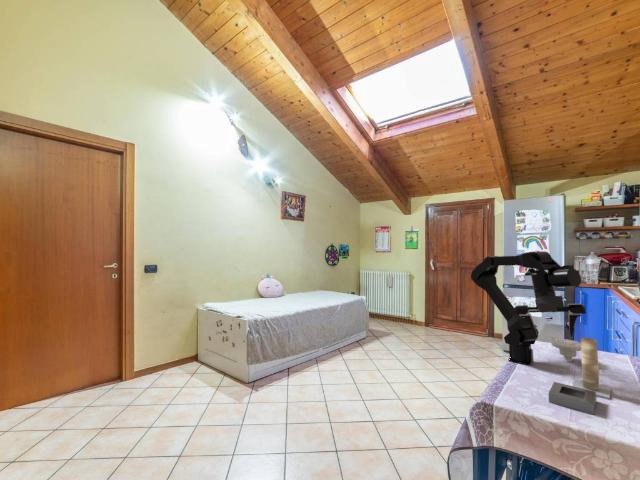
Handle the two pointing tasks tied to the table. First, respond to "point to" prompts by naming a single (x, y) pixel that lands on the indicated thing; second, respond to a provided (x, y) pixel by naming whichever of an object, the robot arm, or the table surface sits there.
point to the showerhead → (566, 347)
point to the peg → (590, 364)
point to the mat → (603, 391)
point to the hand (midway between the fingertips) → (553, 336)
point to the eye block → (573, 397)
